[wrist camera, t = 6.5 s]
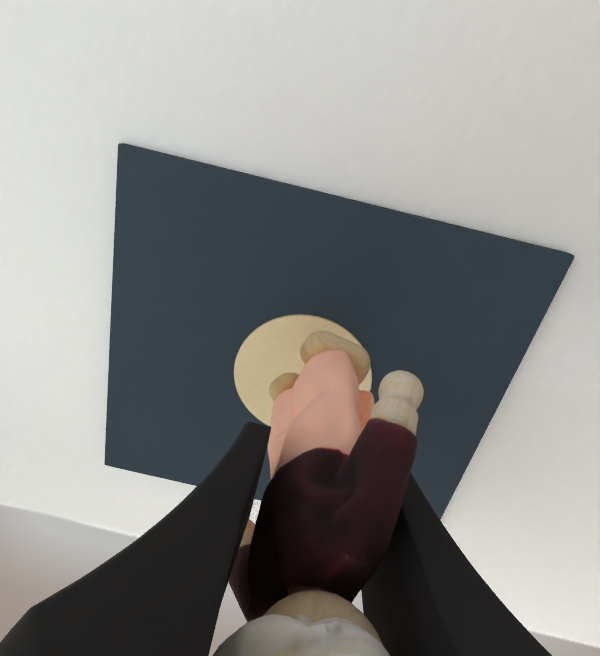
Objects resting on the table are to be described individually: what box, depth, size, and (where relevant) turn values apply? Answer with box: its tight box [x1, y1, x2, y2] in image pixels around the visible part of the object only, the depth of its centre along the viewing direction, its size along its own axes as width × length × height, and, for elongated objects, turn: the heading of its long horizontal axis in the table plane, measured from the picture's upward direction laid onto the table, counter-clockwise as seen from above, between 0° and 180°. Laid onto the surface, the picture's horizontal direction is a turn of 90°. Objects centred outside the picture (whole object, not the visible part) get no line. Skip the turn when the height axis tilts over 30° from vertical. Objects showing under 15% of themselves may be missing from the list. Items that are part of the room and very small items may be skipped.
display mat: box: [105, 143, 574, 519], centre depth 22 cm, size 20×18×1 cm
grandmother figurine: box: [213, 331, 424, 656], centre depth 11 cm, size 8×4×13 cm, turn 154°
